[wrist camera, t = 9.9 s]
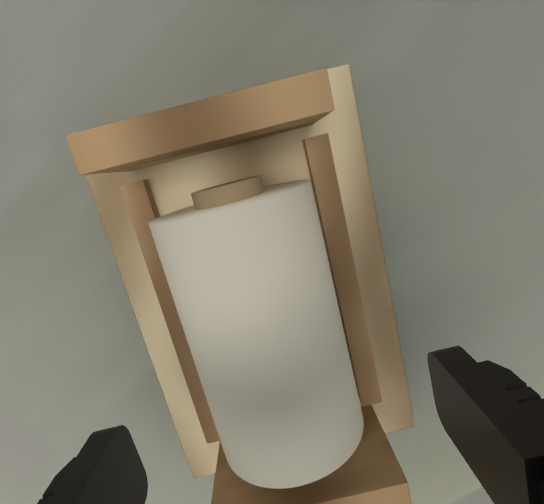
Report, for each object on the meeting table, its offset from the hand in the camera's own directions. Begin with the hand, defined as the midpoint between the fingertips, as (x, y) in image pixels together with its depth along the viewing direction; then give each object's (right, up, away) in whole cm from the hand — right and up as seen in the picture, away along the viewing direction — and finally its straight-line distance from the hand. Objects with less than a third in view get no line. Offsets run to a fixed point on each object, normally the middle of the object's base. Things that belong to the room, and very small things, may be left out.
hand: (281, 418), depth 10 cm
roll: (-1, +2, +8) cm, 9 cm away
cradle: (-1, +2, +9) cm, 10 cm away
